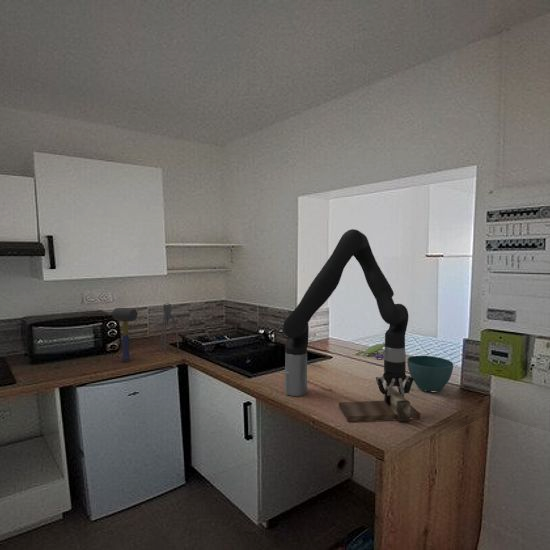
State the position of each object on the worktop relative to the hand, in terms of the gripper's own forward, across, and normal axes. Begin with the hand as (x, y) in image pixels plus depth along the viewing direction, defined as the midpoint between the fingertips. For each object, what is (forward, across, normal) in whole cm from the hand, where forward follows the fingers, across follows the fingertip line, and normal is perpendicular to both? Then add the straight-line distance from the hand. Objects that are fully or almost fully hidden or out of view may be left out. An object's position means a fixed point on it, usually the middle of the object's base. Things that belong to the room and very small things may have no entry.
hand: (394, 404), depth 131 cm
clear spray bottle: (+3, -102, +95) cm, 140 cm away
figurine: (+4, +25, +77) cm, 81 cm away
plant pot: (+3, +25, +21) cm, 33 cm away
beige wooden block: (+3, 0, -1) cm, 3 cm away
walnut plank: (+3, -6, 0) cm, 7 cm away
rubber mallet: (+3, -121, +78) cm, 144 cm away
